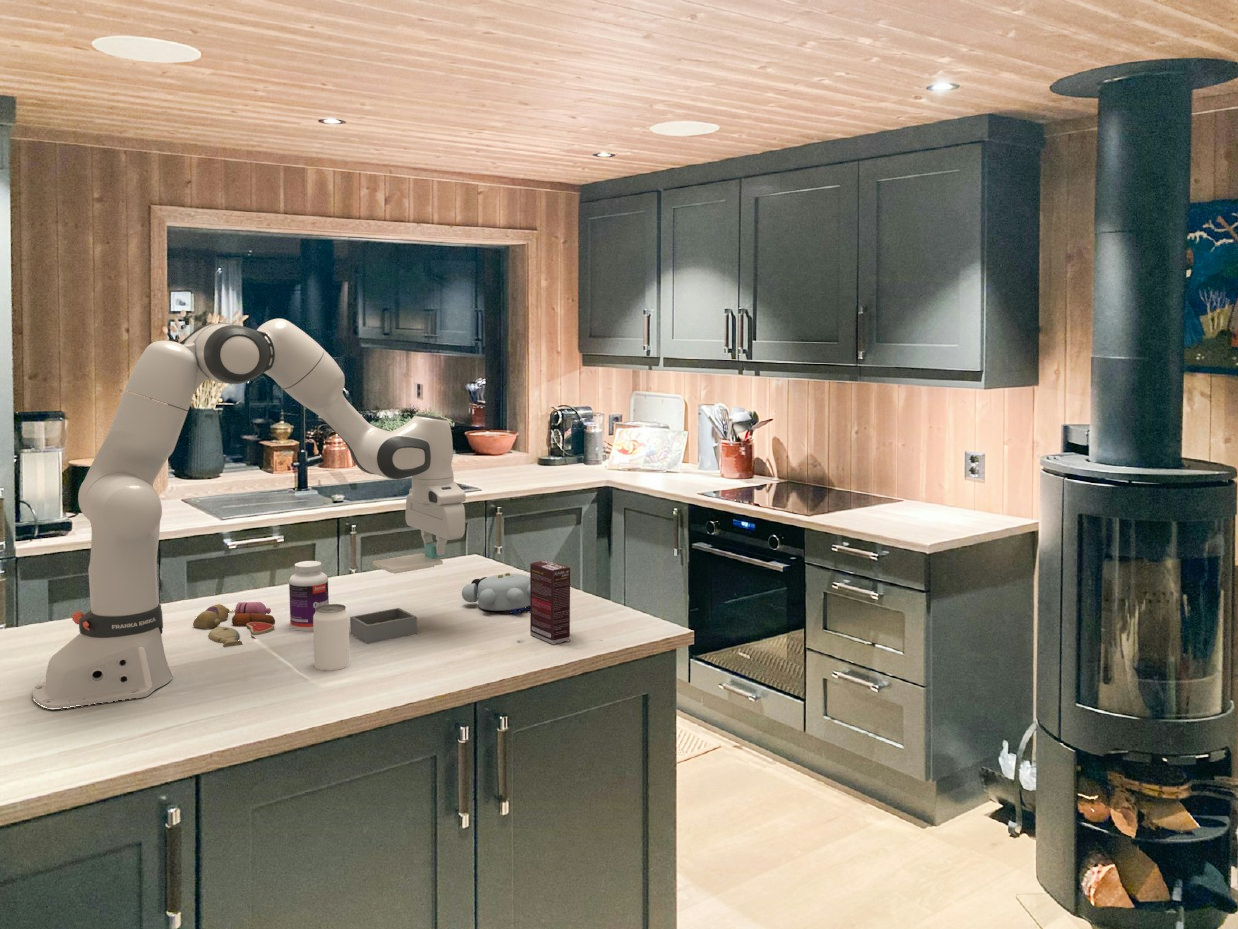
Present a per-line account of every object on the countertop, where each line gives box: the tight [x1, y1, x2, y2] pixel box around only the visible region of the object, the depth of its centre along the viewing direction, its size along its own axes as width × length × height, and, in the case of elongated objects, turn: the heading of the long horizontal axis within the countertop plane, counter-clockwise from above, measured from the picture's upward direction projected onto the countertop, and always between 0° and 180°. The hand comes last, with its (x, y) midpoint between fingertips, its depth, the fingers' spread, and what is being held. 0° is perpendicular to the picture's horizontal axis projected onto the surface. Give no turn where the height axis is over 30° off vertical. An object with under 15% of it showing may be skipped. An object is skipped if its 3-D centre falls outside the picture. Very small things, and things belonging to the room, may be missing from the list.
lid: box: [372, 541, 446, 574], centre depth 215 cm, size 14×9×4 cm, turn 129°
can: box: [312, 603, 350, 671], centre depth 193 cm, size 6×6×12 cm
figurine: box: [461, 572, 530, 615], centre depth 238 cm, size 17×8×20 cm
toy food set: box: [192, 601, 276, 648], centre depth 220 cm, size 26×16×4 cm, turn 42°
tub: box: [349, 607, 418, 645], centre depth 213 cm, size 11×8×4 cm
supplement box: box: [529, 559, 571, 645], centre depth 213 cm, size 9×5×16 cm, turn 39°
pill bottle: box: [288, 560, 330, 632], centre depth 218 cm, size 8×8×14 cm
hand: (434, 552), depth 219 cm, fingers closed on lid, 3 cm apart
